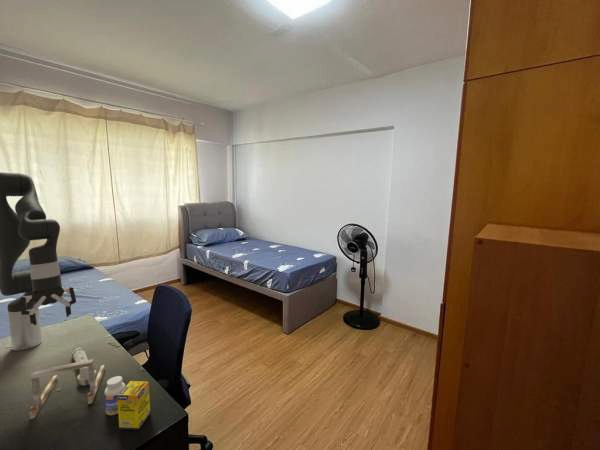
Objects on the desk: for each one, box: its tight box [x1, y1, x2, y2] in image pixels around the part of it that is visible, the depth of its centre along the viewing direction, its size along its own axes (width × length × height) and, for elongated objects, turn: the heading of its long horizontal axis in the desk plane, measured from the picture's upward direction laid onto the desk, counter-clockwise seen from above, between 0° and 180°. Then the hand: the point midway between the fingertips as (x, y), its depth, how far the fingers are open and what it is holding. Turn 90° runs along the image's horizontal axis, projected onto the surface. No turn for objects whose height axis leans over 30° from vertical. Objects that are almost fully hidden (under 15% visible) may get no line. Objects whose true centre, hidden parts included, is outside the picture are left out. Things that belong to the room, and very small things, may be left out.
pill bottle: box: [104, 375, 126, 416], centre depth 84 cm, size 5×5×10 cm
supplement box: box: [117, 380, 151, 431], centre depth 79 cm, size 6×6×11 cm
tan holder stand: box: [29, 358, 106, 420], centre depth 91 cm, size 18×16×12 cm
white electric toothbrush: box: [71, 346, 97, 386], centre depth 102 cm, size 5×7×25 cm
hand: (52, 320), depth 96 cm, fingers open, 8 cm apart
